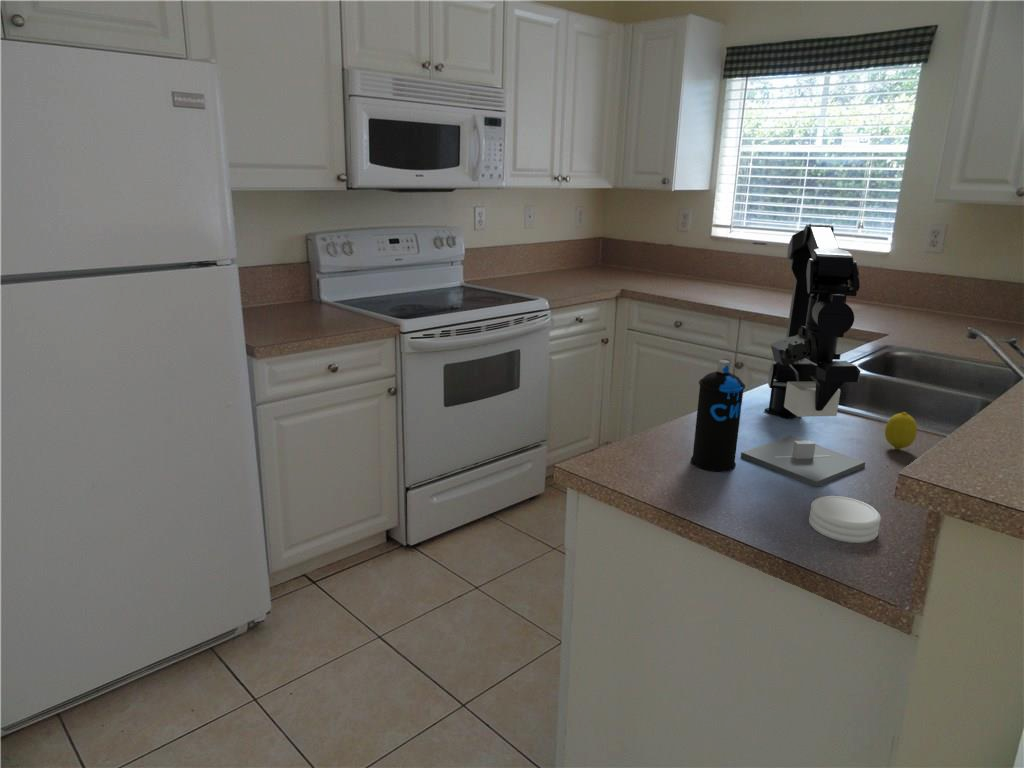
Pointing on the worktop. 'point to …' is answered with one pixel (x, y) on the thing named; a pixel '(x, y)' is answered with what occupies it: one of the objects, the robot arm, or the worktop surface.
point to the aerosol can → (718, 420)
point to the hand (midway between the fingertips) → (810, 405)
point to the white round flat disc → (844, 519)
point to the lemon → (901, 430)
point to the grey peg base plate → (803, 460)
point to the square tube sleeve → (808, 400)
